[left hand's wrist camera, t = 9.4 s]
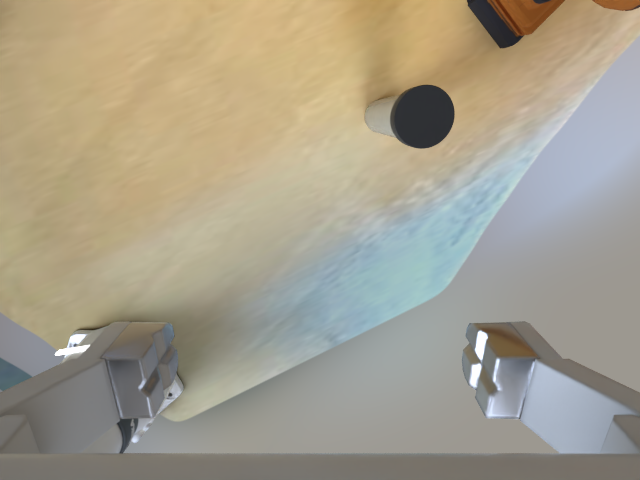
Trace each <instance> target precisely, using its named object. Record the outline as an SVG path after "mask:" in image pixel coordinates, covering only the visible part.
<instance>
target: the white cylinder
mask: <svg viewBox="0 0 640 480" xmlns="http://www.w3.org/2000/svg"><path fill="white" fill-rule="evenodd" d="M399 96H400V95H397V96H393V97H388V98H384V99H379V100H376V101H374V102H372V103H371V104H370V105H369V106H368V107H367V109H366V112H365V122H366V125H367V126H368V128H369V129H370V130H372V131H373V132H376V133H380V134H383V135H387V136H390V137H394V138H396V136H395V135H394V133H393V131H392V129H391V125H390V114H391V110H392V107H393V104H394V103H395V101H396V100H397V98H398V97H399Z"/></svg>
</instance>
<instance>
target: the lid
mask: <svg viewBox="0 0 640 480" xmlns="http://www.w3.org/2000/svg"><path fill="white" fill-rule="evenodd" d="M453 122H454V106H453V103H452V101H451V99H450V97H449V95H448V94H447V93H446V92H445V91H444V90H442V89H441V88H439V87H436V86H433V85H421V86H417V87H413V88H410V89H408V90H406V91H405V92H403V93H402V94H401V95H400V96H399V97H398V98H397V100H396V101H395V103H394V104H393V107H392V110H391V114H390V125H391V129H392V131H393V133H394V135H395V136H396V138H397V139H398V140H399V141H401V142H402V143H404V144H405V145H408V146H411V147H414V148H429V147H432V146H434V145H436V144H438V143H440V142H441V141H442V140H443V139H444V138H445V137H446V136H447V135H448V133H449V132H450V130H451V128H452V125H453Z"/></svg>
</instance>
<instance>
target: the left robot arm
mask: <svg viewBox="0 0 640 480" xmlns="http://www.w3.org/2000/svg"><path fill="white" fill-rule="evenodd" d="M173 338H174V331H173V326H172V325H171V324H170V323H164V322H113V323H111V324H110V325H109V326H106V327H103V328H100V329H97V330H78V331H75V332H74V333H73V334H72V335H71V337H70V339H69V343H68V346H67V349H62V350H59V351H57V352H56V353H55V355H63V354H65V357H64V360H63V361H62V362H61V363H60V364H59V365H57V366H55V367H53V368H51V369H49V370H47V371H45V372H43V373H40V374H38V375H36V376H34V377H32V378H30V379H28V380H26V381H24V382H22V383H19V384H17V385H15V386H13V387H11V388H9V389H7V390H5V391H3V392H1V393H0V480H640V393H639V392H637V391H635V390H633V389H631V388H629V387H627V386H625V385H623V384H620V383H618V382H616V381H614V380H612V379H610V378H608V377H606V376H604V375H602V374H600V373H597V372H595V371H593V370H591V369H589V368H587V367H585V366H583V365H581V364H579V363H577V362H574V361H572V360H570V359H562V357H561V356H560V355H559V354H558V353H557V352H556V351H555V350H554V349H553V348H552V347H551V346H550V345H549V344H548V343H547V341H546V340H545V339H544V338H543V337H542V336H541V335H540V334H539V333H538V332H537V331H536V330H535V329H534V328H533V327H532V326H531V324H529V323H527V322H503V323H469V325H468V327H467V331H466V338H467V339H468V341H469V345H468V346H467V347H466V348H465V349H464V350H463V356H462V366H463V372H464V376H465V379H466V381H467V383H468V385H469V386H471V387H472V388H474V389H475V390H477V391H476V396H475V398H476V400H477V402H478V404H479V406H480V408H481V410H482V412H483V413H484V415H485V417H486V418H504V419H520V421H521V422H523V423H524V424H525V425H526V426H527V427H529V428H530V429H531V430H532V431H533V432H535V433H536V434H537V435H538V436H540V437H541V438H542V439H543V440H544V441H546V442H547V443H548V444H549V445H551V446H552V447H553V448H554V449H555V450H557V451H558V452H559V453H123V452H124V451H125V450H126V448H127V447H128V445H129V444H130V442H131V441H132V442H134V443H136V442H137V441H138V440H139V439H140V438H141V437H142V435H143V434H144V432H145V431H146V430H147V429H148V428H149V427H150V426H151V424H152V422H153V420H154V419H155V417H156V415H158V414H159V413H160V412H161V411H162V410H163V409H164V408H166V407H167V406H168V405H169V404H170V403H171V402H172V401H174V400H175V399H176V398H177V397H178V396H179V395H180V394H181V393H182V391H183V389H184V387H183V384H182V382H181V380H180V379H179V377H178V375H177V373H176V372H177V368H178V355H177V350H176V349H175V348H174V347H173V346H172V344H171V341H172V339H173ZM77 344H78V345H77ZM169 392H170V393H169ZM171 393H172V394H171Z"/></svg>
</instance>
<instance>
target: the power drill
mask: <svg viewBox="0 0 640 480" xmlns="http://www.w3.org/2000/svg"><path fill="white" fill-rule="evenodd" d="M564 1H565V0H467V2H468V6H469V8H470V9H471V10H472V11H473V13H474V14H475V15H476V17H477V18H478V19H479V21H480V22H481V23H482V25H483V26H484V27H485V29H486V30H487V31H488V33H489V34H490V35H491V37H492V38H493V39H494V40H495V42H496V43H497V44H498V46H499V47H500V48H506V47H509V46H513V45H514V44H516V43H517V42H518V41H519V40H520V39H521V38H522V37H523V36H524V35H529V34H532V33H533V32H534V31H535V30H536V29H537V28H538V27H539V26H540V25H541V24H542V23H543V22H544V21H545V20H546V19H547V18H548V17H549V16H550V15H551V14H552V13H553V12H554V11H555V10H556V9H557V8H558V7H559V6H560V5H561V4H562V3H563V2H564ZM593 2H595V3H597V4H599V5H601V6H602V7H604V8H609V9H615V10H622V11H623V10H625V11H629V10H634V9H637V8H639V7H640V0H593Z"/></svg>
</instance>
